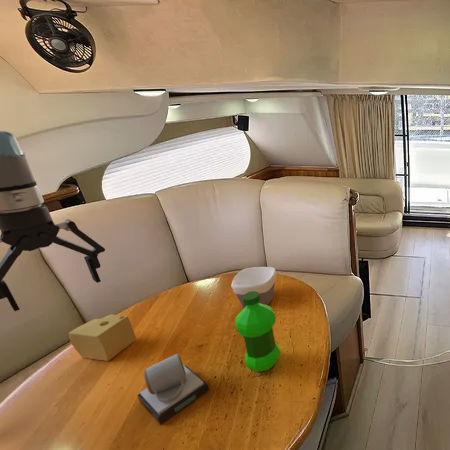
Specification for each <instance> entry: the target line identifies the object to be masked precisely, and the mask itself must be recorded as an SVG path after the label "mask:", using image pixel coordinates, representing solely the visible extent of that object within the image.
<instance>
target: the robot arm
mask: <svg viewBox="0 0 450 450" xmlns="http://www.w3.org/2000/svg"><path fill="white" fill-rule="evenodd" d="M44 202H45V200H44V197H43V195H42V193H41V190H40V188H39V186H38V184H37V181H36V180H35V177H34V175H33V173H32V170H31V167H30V165H29V163H28V160H27V158H26V152H25V151H24V150H23V149H22V147H21V145H20V143H19V141H18V140H17V138H16V136H15V134H13V133H11V132H9V131H5V130H0V244H1V243H4V244H6V245H8V246H9V247H8V249H7V251H6V253H5V255H4V256H3V258H2V259H1V260H0V300H4V299H5V298H6V299H7V301H8V303H9V305H10V307H11V308H12V310H13V311H14V312H18V311H20V310H21V309H20V307H19V305H18V303H17V301H16V300H15V297H14V295H13V294H12V292H11V290H10V288H9V286H8V285H7V283H6V281H5V280H4V278H5V277H6V275H7V274H8V272H9V271H10V269H11V268H12V266H13V265H14V263H15V262H16V260H17V259H18V258H19V257H20V256H21V255H22V253H23V251H24V252H32V251H35V250H37V249H38V250H39V249H42V248H48V247H50V246H51V245H52V244H55V245H57V246H61V247H64V248H67V249H69V250H72V251H74V252H77V253H80V254H83V255H85V256H83V259H84V261H85V263H86V265H87V268H88V270H89V273H90V276H91V278H92V280H93V281H94V282H95V283H97V284H98V283H100V282H101V281H102V280H101V278H100V276H99V272H98V270H97V269H101V263H100V260H99V258H98V257H99V255H100V254H101V253H104V252H105V251H106V248H105V247H104V246H102V245H101V244H99V243H98V242H97V241H95V240H94V239H92V238H91V237H90V236H89V235H88V234H86V233H84V232H83V231H82V230H80V229H79V226H77V224H76V222H75V221H73V220H72V219H70V218H69V219H65V220H64V221H63V222H60V223H57V224H56V223H55V222H54V220H53V217H52V216H51V213H50V211H49V209H48V206H47V205H46V204H44ZM60 230H63V231H66V232H71V233H72V234H74V235H75V236H77V237H78V238H79V239H80V240H82V241H83V242H85V243H86V244H88V245H90V247H92V249H89V248H87V247H84V246H81V245H80V244H77V243H74V242H72V241H69V240H67V239H64V238H62V237H60V236H58V234H59V232H60Z"/></svg>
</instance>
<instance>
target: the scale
mask: <svg viewBox="0 0 450 450" xmlns="http://www.w3.org/2000/svg"><path fill="white" fill-rule="evenodd" d="M183 366H184V369H185V372H186V375H187V381H185V382H184V387H183V391H182V393H181V394H180V395H179V397H177V398H176V399H174V400H172V401H170V402H161V401H159V400H158V399H157V397H156V395H155V394H150V392H149V391H148V388H147V387H146V388H145V389H142V390H141V391H139V393H138V394H137V395H136V396H137V399H138V400H139V403H140V404H141V405H142V406H143V407H144V408H145V410H147V412H148V413H149V414H150V415H151V417H152V418H153V419H154V420H155V421H156V422H157V423H158V424H159V426H160V425H162V424H164V423H166V422H167V421H168V420H170V419H171V418H172V417H174V416H175V415H177V414H178V413H179V412H181V411H182V410H183V409H185V408H186V407H188V406H189V405H191V404H192V403H194V402H195V401H196V400H198V399H200V398H201V397H202V396H203V395H205V394H206V393H208V392H209V391H210V388H209V384H208V382H206V381H205V380H204V379H203V378H202V377H201V376H199V375H198V374H197V373H196V372H195V371H193V370H192V369H191V368H190V367H188V366H187V365H183ZM180 386H181V384H178V385H176V386H174V387H171V388H169V389H167V390H165V391H162V392H160V393H158V396H159V397H160V398H162V399H166V398H171V397H173V396H175V395H176V394H177V392H178V391H179V389H180Z"/></svg>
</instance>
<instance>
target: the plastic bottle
mask: <svg viewBox="0 0 450 450" xmlns="http://www.w3.org/2000/svg"><path fill="white" fill-rule="evenodd" d="M259 301H260V296H259V293H258V292H256V291H252V292H248V293H246V294H244V295H243V302H244V305H246V307H243V308H242V310H241V311H240V312H239V313H238V314H237V316H236V317H235V321H234V323H235V327H236V330H237V333H238V334H239V335H240V336H242V337H243V340H244V344H245V348H246V352H245V354H244V361H245V364H246V367H247V368H248V369H249V370H252V371H256V372H259V373H260V372H265V371H268V370H269V369H271V368H272V367H273V366H275V365H276V363H277V362H278V360H279V358H280V356H281V350H280V347H279V345H278V343H277V342H276V341H275V340H276V339H275V335H274V328H273V327H274V326H275V324H276V319H277V318H276V313H275V312H274V310H273V308H272V307H271V305H269V304H267V305H265V304H261V303H259Z"/></svg>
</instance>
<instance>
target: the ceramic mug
mask: <svg viewBox="0 0 450 450" xmlns="http://www.w3.org/2000/svg"><path fill="white" fill-rule="evenodd" d="M184 366H185V365H184V364H183V361H182V359H181V356H180V354H179V353H176V354H173V355H171V356H169V357H167V358H165V359H162V360H160V361H159V362H156V363H154V364H152V365H151V366H149V367H147V368H145V369H144V371H143V380H144V383H145V386H146V388H148V391H149V392H150V394H155V395H156V397H157V399H158V400H159V401H161V402H170V401H172V400H174V399H176V398H177V397H179V395H180V394H181V393H182V391H183V387H184V382H185V381H187V375H186V372H185V369H184ZM178 384H181V386H180V389H179V391H178V392H177V394H176V395H175V396H173V397H171V398H166V399H162V398H160V397H159V396H158V393H160V392H162V391H165V390H167V389H169V388H171V387H174V386H176V385H178Z"/></svg>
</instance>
